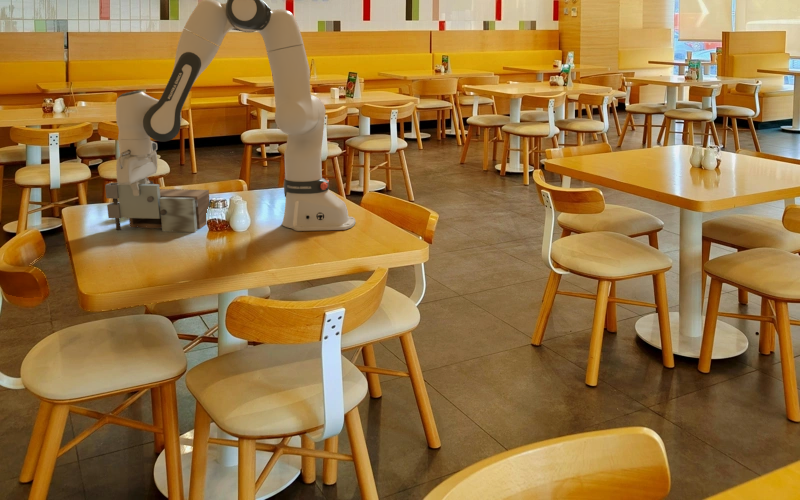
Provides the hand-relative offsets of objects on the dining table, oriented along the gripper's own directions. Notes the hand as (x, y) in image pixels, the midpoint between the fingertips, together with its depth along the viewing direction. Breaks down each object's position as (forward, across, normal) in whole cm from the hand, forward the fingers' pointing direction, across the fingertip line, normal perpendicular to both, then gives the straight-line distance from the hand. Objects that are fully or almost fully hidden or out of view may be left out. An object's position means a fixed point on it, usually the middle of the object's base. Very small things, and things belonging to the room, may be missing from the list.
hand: (139, 194), depth 232 cm
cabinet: (+11, +5, -4) cm, 13 cm away
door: (+7, 0, +2) cm, 7 cm away
